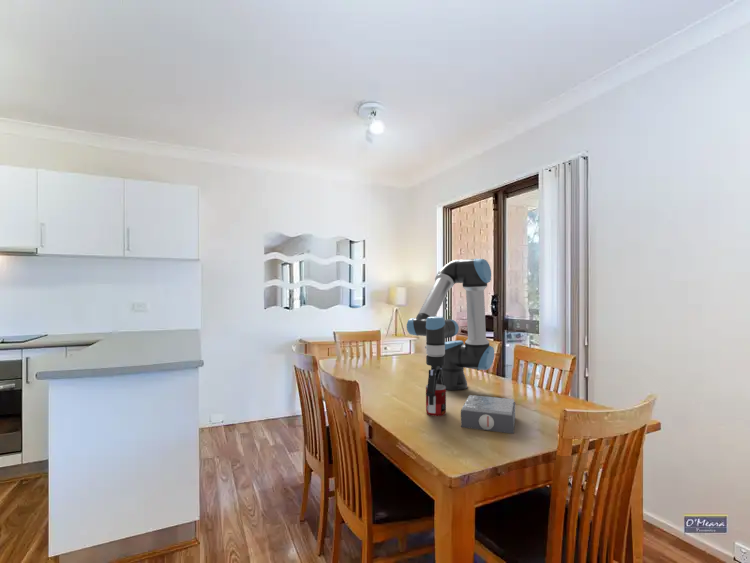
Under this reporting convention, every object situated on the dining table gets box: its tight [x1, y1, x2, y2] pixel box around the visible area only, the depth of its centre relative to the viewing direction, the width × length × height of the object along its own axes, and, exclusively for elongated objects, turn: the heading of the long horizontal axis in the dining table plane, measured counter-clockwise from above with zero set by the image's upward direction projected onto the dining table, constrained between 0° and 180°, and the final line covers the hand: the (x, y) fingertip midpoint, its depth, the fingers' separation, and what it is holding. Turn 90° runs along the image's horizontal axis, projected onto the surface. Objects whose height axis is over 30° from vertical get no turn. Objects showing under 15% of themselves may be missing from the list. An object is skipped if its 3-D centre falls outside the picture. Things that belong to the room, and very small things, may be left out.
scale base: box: [460, 401, 516, 435], centre depth 147 cm, size 19×18×6 cm
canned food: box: [425, 384, 447, 417], centre depth 158 cm, size 8×8×11 cm
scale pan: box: [461, 394, 515, 416], centre depth 148 cm, size 17×17×1 cm
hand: (435, 407), depth 158 cm, fingers open, 13 cm apart
